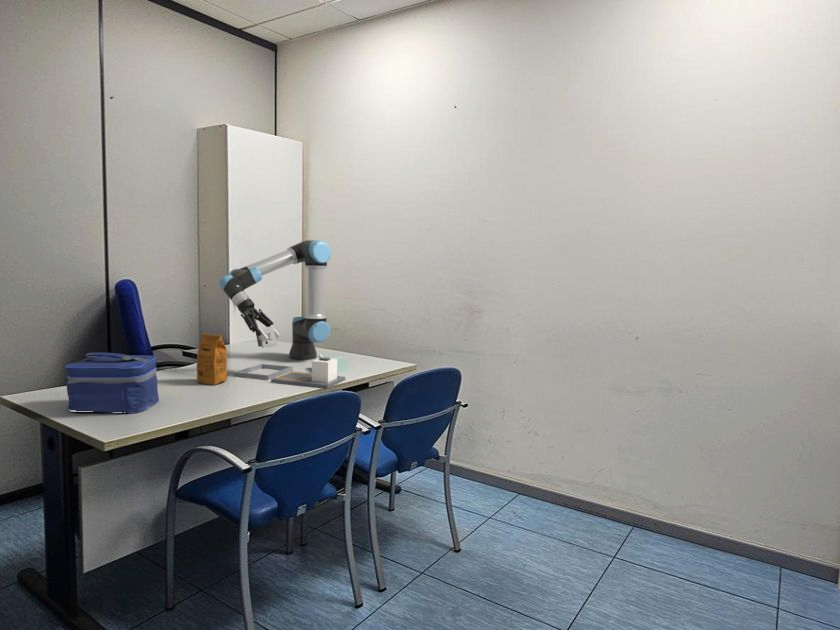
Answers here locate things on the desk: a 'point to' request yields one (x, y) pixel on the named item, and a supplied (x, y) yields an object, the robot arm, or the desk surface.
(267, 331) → the electrical switch
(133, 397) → the lunch bag
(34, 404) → the desk surface
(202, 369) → the coffee package
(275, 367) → the tray frame
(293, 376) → the power dock
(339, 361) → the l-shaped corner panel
